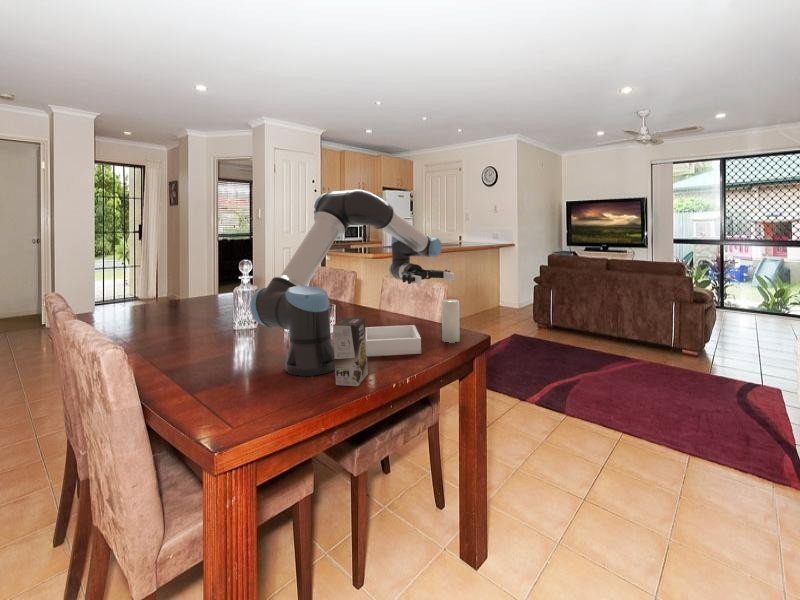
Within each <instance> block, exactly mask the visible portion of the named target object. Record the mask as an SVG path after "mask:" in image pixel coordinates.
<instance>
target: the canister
mask: <svg viewBox="0 0 800 600" xmlns="http://www.w3.org/2000/svg"><path fill="white" fill-rule="evenodd" d="M460 340H461V339H460V300H458V299H443V300H441V341H442V342H443V341H444V342H443V343H445V342H449V343H448V344H456V343H455V342H457V343H459V342H461V341H460Z"/></svg>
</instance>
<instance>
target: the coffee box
mask: <svg viewBox="0 0 800 600" xmlns="http://www.w3.org/2000/svg"><path fill="white" fill-rule="evenodd" d="M332 331H333V333H332V336H333V347H334V358H335V370H334V374H335V375H334V376H335V377H334V378H335V386H346V387H347V386H349V387H358V386H360V385H361V383H362V382H363V381H364V380H365V378H366V377H367V376H368V373H369V372H368V356H367V349H366V317H344V318H342V319H339V321H337V322H336V323H334V324H333V325H332Z"/></svg>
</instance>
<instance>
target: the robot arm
mask: <svg viewBox="0 0 800 600" xmlns="http://www.w3.org/2000/svg"><path fill="white" fill-rule="evenodd" d="M313 208H314V210H313V220H314V223H313V225H312V226H311V228H310V230H309V231H308V232H307V234H306V236H305V237H304V239H303V241H302V242H301V244H300V245H299V247H298V248H297V249H296V251H295V252H294V254H293V255H292V257H291V259H290V260H289V262H288V264H286V266H285V268H284V270H283V272H281V274H280V276H279V275H278V276H274V277H273V278H272V279H271V280H270V282H269V284H268V285H267V286H266V287H261V288H258V289H257V290H256V291H254V293H253V295H252V296H251V298H250V305H249V306H250V307H249V309H250V311H251V315H252V318H253V320H255V322H256V323H258V324H260V325H262V326H265V327H267V328H275V329H282V330H287V331H288V333H289V334H288V335H289V346H288V350H287V355H286V359H285V363H284V365H285V372H286V371H287V372H288V374H289V373H290V374H289V375H292V374H293V375H292V376H297V375H299V377H311V376H318V375H324V374H327V373H330V372H333V371H335V358H334V343H333V342H332V337H331V333H332V332H331V315H330V312H331V311H330V301H329V295H328V293H327V291H326V290H325V289H323V288H321V287H317V286H311V285H309V284H310V282H311V280H312V279H313V277H314V275H315V273H316V272H317V270H318V268H319V267H320V265H321V264H322V263H323V261H324V259H325V257H326V255H327V253H328V252H329V250H330V248H331V247H332V245H333V244H334V242H335V241H336V239H337V237H342V236H343V235H344V234H345V233H346V231H347V229H348V228H349V226H369V227H373V228H374V229H377V230H383V231H384V232H386V233H387V234H388V235H390V236H391V244H390V245H391V258H392V260H391V263H390V265H389V268H388V272H389V274H390V276H391V277H393V279H394V278H395V279H396V280H401V281H402V283H406V282H407V285H411V284H417V285H422V280H430V279H444V280H447V281H452V282H454V281H455V273H454V272H451V270H448V269H445V270H440V269H439V270H437V269H423V267H422V266H421V265H419V264H415V263H411V257H422V258H431V257H432V258H433V257H434V258H435V257H438V256H439V255H441V253H442V248H443V247H442V242H441V239H439V238H438V237H430V236H427V235H426V234H425V233H423V232H422V231H421V230H419V229H418V228H417V227H416V226H414V225H413V224H411V222H409V221H407V219H405V218H404V217H402V216H401V215H400V214H398V213H397V212H396V211H395V209H394V207H393V206H392V204H390V203H389V202H388V201H386V200H385V199H383V198H382V197H379V196H378V195H376V194H374V193H372V192H371V191H367V190H363V189H351V190H337V191H336V190H331V191H328V192H325V193H322V194H321V195H319V196H318V197H317V199H316V200H315V202H314V205H313ZM308 285H309V286H308Z"/></svg>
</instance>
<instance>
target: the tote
mask: <svg viewBox="0 0 800 600" xmlns="http://www.w3.org/2000/svg"><path fill="white" fill-rule="evenodd" d="M365 327H366V326H365ZM366 349H367V357H381V356H400V355H401V356H402V355H416V354H417V355H419V354H422V337H421V335H420V333H419V332H418V329H417V327H416V325H415V324H411V325H409V324H408V325H406V324H405V325H388V326H387V325H386V326H369V327H368V326H367V327H366Z"/></svg>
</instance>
